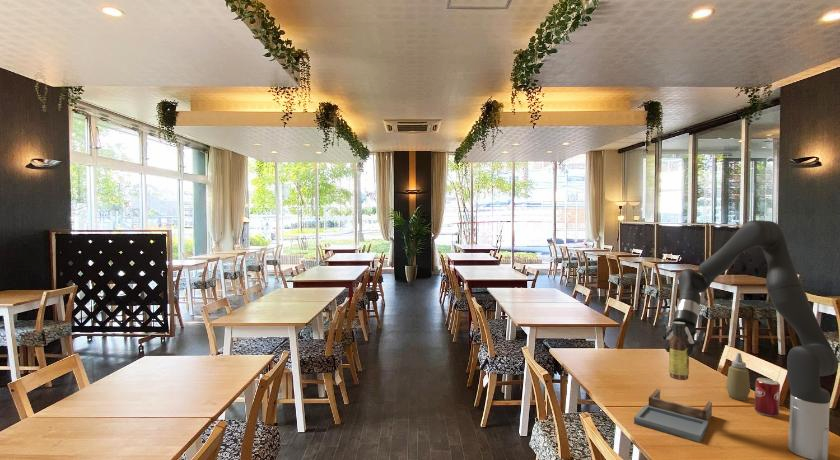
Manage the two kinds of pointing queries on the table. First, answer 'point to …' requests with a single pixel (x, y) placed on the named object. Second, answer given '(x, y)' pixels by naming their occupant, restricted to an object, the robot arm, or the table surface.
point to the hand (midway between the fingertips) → (678, 352)
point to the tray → (672, 423)
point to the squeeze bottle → (738, 379)
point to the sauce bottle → (678, 353)
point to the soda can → (767, 397)
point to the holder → (680, 407)
